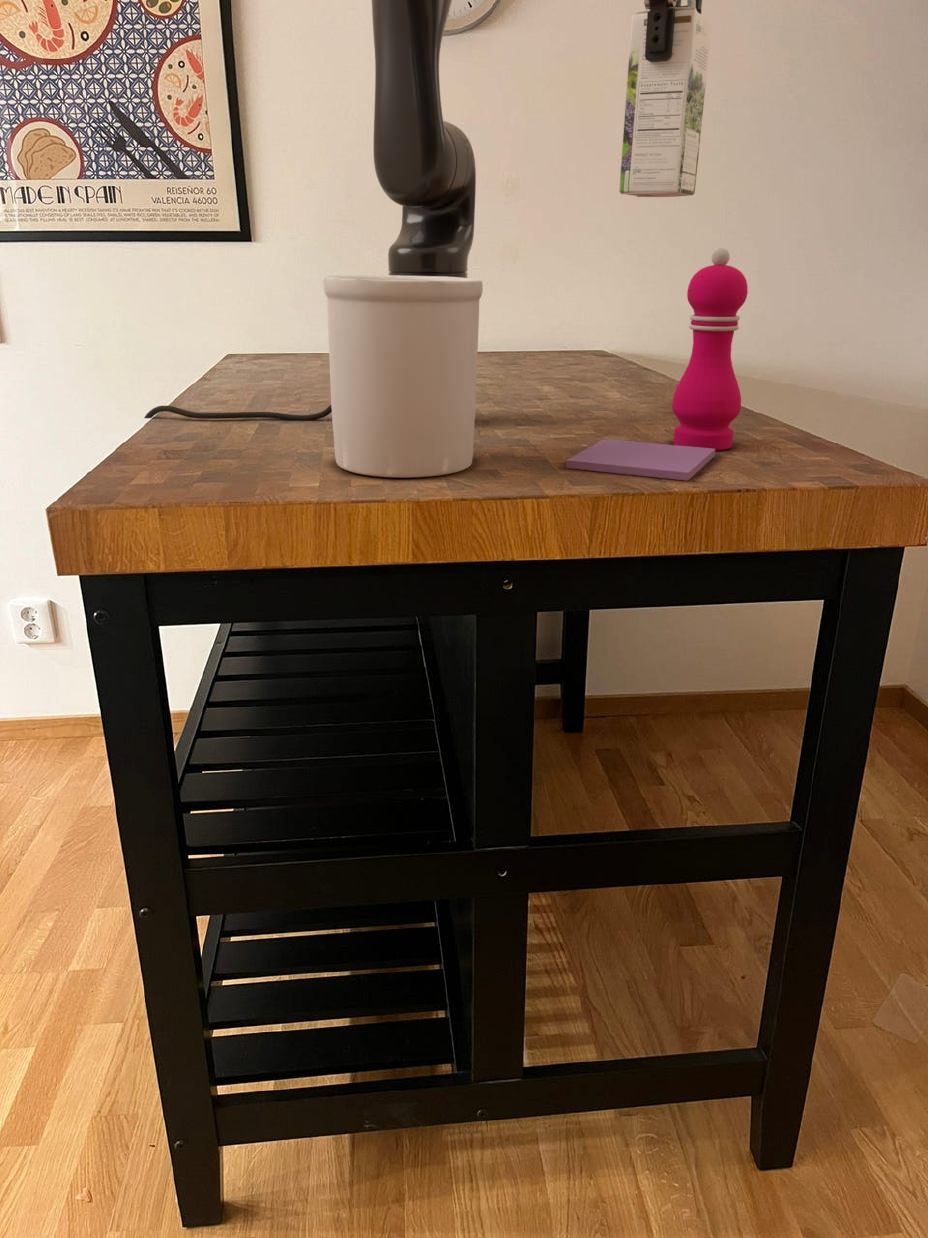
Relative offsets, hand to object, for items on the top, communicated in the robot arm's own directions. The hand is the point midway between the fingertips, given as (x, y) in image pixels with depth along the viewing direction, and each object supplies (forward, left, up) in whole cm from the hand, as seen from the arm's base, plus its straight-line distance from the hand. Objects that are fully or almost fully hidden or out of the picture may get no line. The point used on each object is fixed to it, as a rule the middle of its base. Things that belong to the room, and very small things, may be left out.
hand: (667, 65), depth 83 cm
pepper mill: (+5, +9, -35) cm, 37 cm away
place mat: (+1, -3, -35) cm, 35 cm away
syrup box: (0, 0, -11) cm, 11 cm away
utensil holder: (-20, -14, -35) cm, 43 cm away
